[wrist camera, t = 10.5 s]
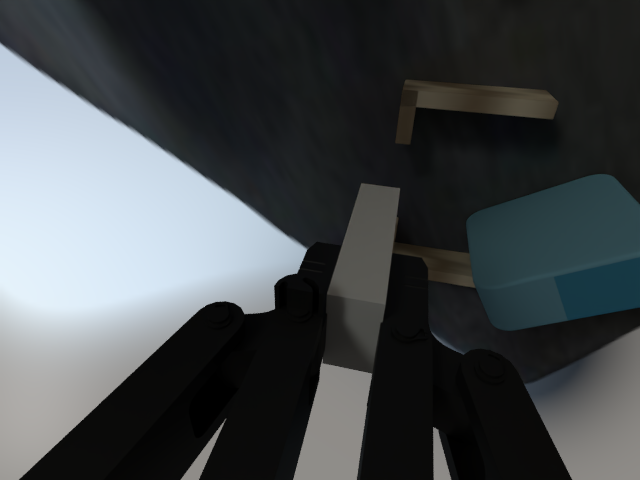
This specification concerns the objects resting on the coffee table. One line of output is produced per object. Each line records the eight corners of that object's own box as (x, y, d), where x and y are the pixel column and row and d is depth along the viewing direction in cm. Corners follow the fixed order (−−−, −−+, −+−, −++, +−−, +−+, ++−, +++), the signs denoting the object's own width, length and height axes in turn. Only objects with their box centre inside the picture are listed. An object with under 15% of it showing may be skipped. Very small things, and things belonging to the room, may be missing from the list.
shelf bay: (382, 249, 43) (377, 271, 40) (405, 79, 34) (402, 89, 30) (489, 266, 41) (493, 290, 38) (546, 90, 32) (558, 102, 28)
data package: (478, 250, 40) (492, 336, 31) (463, 214, 39) (473, 291, 29) (617, 212, 35) (688, 300, 25) (607, 168, 34) (678, 244, 24)
